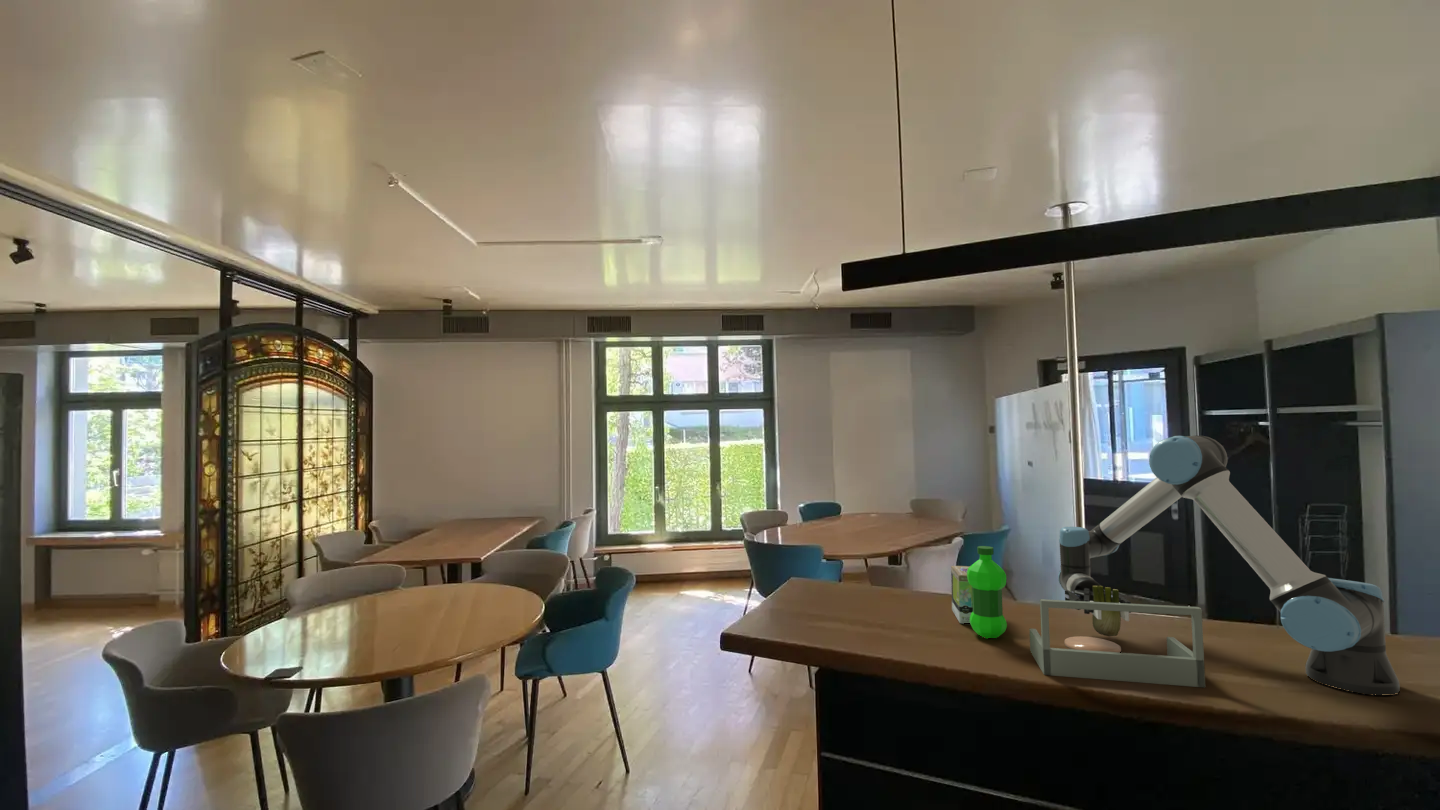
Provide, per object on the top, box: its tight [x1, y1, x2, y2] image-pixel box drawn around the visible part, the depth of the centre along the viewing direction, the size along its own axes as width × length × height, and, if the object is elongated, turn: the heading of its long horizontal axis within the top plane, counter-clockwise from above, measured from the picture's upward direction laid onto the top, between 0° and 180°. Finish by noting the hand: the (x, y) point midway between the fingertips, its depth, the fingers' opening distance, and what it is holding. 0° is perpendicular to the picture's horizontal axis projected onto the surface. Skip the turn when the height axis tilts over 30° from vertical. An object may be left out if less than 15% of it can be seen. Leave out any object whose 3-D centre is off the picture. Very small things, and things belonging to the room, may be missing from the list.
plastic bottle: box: [967, 545, 1008, 639], centre depth 181 cm, size 10×10×25 cm
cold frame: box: [1029, 598, 1206, 688], centre depth 155 cm, size 16×33×18 cm, turn 74°
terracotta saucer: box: [1064, 635, 1122, 653], centre depth 170 cm, size 13×13×1 cm
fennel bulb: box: [1092, 585, 1122, 637], centre depth 157 cm, size 6×5×12 cm
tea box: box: [950, 565, 973, 624], centre depth 198 cm, size 15×10×15 cm, turn 168°
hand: (1113, 614), depth 152 cm, fingers closed on fennel bulb, 5 cm apart
